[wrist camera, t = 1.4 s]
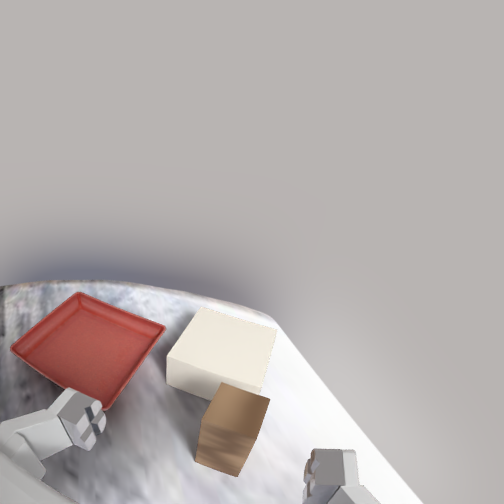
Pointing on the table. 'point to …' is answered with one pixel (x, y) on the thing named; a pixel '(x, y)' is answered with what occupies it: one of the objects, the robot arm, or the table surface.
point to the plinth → (219, 354)
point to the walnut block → (230, 429)
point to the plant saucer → (89, 346)
